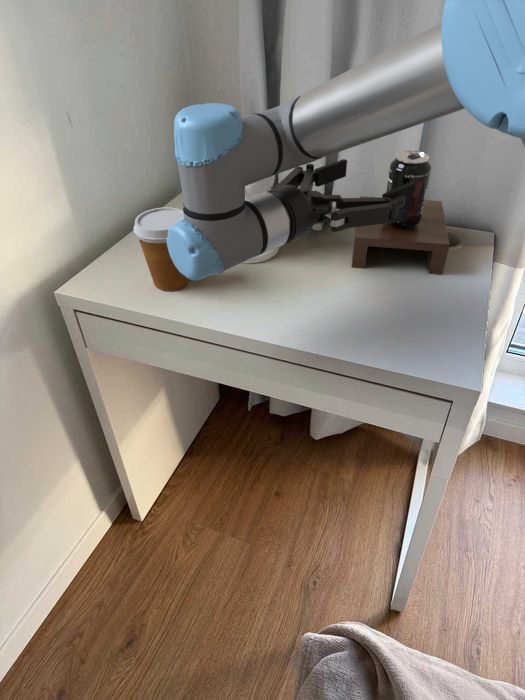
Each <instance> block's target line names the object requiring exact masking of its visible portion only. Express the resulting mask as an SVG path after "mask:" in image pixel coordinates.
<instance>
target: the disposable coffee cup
mask: <svg viewBox="0 0 525 700" xmlns="http://www.w3.org/2000/svg"><path fill="white" fill-rule="evenodd" d="M181 220H184V214H183V209H180V208H179V207H171V206H170V207H166V206H165V207H164V206H163V207H157V208H155V207H154V208H151V209H148V210H145V211H143V212H141V213H140V214H138V215H137V216H136V217H135V220H134V225H133V233H134V235H135V236H136V237H137V238H138V241H139V244H140V246H141V249H142V253H143V255H144V258H145V262H146V265H147V267H148V271H149V273H150V276H151V279H152V282H153V285H154V287H155V288H156V289H158V290H160V291H164V292H173V291H179V290H181V289H183V288H185V287H187V286H188V285H189V283H190V279H188V278H186V276H184V275H182V274H181V273H180V272H179V270H178V269H177V268H176V266H175V265H174V263H173V261H172V259H171V256H170V254H169V251H168V247H167V236H168V230H169V228H170V227H171V226H172V225H174V224H176V223H178V222H179V221H181Z"/></svg>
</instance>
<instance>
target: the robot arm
mask: <svg viewBox="0 0 525 700" xmlns="http://www.w3.org/2000/svg"><path fill="white" fill-rule="evenodd" d="M441 17H442V18H441V22H439V23H436V24H435V25H434V26H431V27H429V28H427V29H426V30H424V31H421V32H420V33H418V34H416V35H414V36H412V37H410V38H408V39H406V40H405V41H402V42H401V43H399V44H397V45H394V46H393V47H391V48H389V49H386V50H385V51H383V52H381V53H380V54H377V55H375V56H374V57H372V58H370V59H368V60H365V61H363V62H361V63H360V64H358V65H356V66H354V67H351V68H350V69H349V70H346V71H345V72H343V73H341V74H339V75H337V76H335V77H333V78H331V79H329V80H327V81H325V82H323V83H321V84H320V85H317V86H316V87H314V88H312V89H310V90H308V91H306V92H304V93H302V94H301V95H299V96H296V97H294V98H292V99H290V100H289V101H287V102H284V103H283V104H281V105H278V106H275V107H272V108H270V109H266V110H263V111H260V112H256V113H251V114H248V115H244V116H241V112H240V111H239V109H237V108H236V107H235V106H233V105H230V104H227V103H221V102H210V103H209V102H207V103H203V104H201V103H199V104H193V105H189V106H186V107H184V108H182V109H181V110H180V111H178V112H177V114H176V115H175V116H174V120H173V131H174V132H173V139H174V155H175V160H176V163H177V169H178V175H179V181H180V188H181V193H182V200H183V202H182V206H183V207H182V210H183V214H184V220H181V221H179V222H178V223H176V224H174V225H172V226H171V227H170V228H169V230H168V236H167V247H168V251H169V254H170V256H171V259H172V261H173V263H174V265H175V266H176V268H177V269H178V270H179V272H180V273H181V274H182V275H184V276H186V278H188V279H190V280H191V281H200V280H203V279H206V278H209V277H212V276H214V275H217V274H218V275H220V274H223V273H224V272H226V271H227V270H230V269H233V268H234V267H236V266H238V265H240V264H243V263H242V262H244V261H246V260H248V259H251V258H253V257H257V256H259V255H261V254H263V253H265V252H268V251H270V250H273V249H275V248H277V247H279V248H280V247H282V246H284V245H288V244H290V243H292V242H294V241H297V240H300V239H301V238H304V237H305V236H307V234H308V233H309V232H310V231H311V229H312V227H313V225H315V224H320V223H323V224H328V225H329V231H330V232H332V233H337V232H342V231H343V230H347V229H354V228H356V227H362V226H370V225H377V224H385V223H393V222H395V221H396V216H397V210H398V208H401V207H403V206H404V205H405V204H407V203H409V202H412V200H413V195H414V189H415V183H412V182H410V183H408V184H406V185H403V186H401V187H398V188H396V189H394V190H391V191H389V192H386V191H385V192H384V193H382V196H381V197H378V198H360V197H342V196H341V195H340V194H323V193H322V192H321V191H318V190H313V188H314V187H317V188H318V187H322V186H324V185H326V184H327V185H328V184H330V183H332V182H334V181H338V180H341V179H343V178H346V177H347V168H348V160H347V159H346V158H342V159H340V160H337V161H334V162H331V163H328V164H325V165H322V166H320V167H317V168H315V164H313V163H314V162H316V161H318V160H320V159H322V158H325V157H329V156H331V155H334V154H337V153H340V152H343V151H346V150H348V149H352V148H355V147H357V146H360V145H363V144H366V143H369V142H372V141H375V140H377V139H381V138H383V137H386V136H390V135H393V134H395V133H398V132H402V131H404V130H406V129H411V128H413V127H417V126H419V125H421V124H425V123H428V122H431V121H434V120H436V119H439V118H443V117H445V116H449V115H451V114H454V113H457V112H459V111H463V110H466V111H467V112H468V113H469V114H470V115H471V116H472V117H473V118H474V119H476V121H478V123H480V124H482V125H484V126H485V127H487V128H489V129H491V130H496V131H499V132H501V133H502V134H506V135H509V136H511V137H515V138H519V139H520V140H521V143H522V145H523V147H524V148H525V0H445V2H444V5H443V10H442V16H441ZM305 165H306V166H305ZM303 166H305V170H304V167H303ZM287 171H291V172H289V173H288V174H286V176H285V177H284V178H283V179H282V180H280V182H278V183H276V184H273V186H271V190H270V191H268V192H263V193H261V194H258V195H255V196H253V197H250V198H247V199H245V186H247V185H249V184H252V183H255V182H257V181H260V180H262V179H265V178H268V177H271V176H273V175H275V176H276V175H278V174H282V173H283V172H287ZM313 186H314V187H313ZM332 202H333V203H335V211H334V212H332V213H331V210H332Z"/></svg>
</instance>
